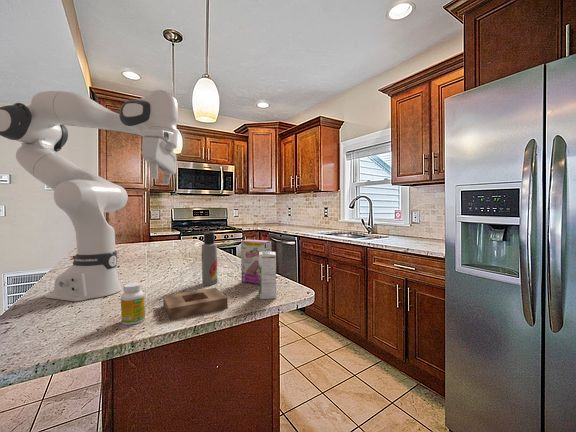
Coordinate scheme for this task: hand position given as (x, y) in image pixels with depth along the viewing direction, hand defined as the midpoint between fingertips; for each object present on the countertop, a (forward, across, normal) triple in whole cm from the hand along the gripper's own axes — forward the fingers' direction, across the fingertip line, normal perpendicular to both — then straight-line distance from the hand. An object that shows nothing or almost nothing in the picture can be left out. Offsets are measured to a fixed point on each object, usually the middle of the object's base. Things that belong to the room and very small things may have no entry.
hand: (160, 181), depth 92 cm
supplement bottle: (+40, +14, 0) cm, 43 cm away
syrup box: (+37, -2, +36) cm, 52 cm away
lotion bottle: (+36, -20, +13) cm, 43 cm away
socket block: (+39, +6, +14) cm, 42 cm away
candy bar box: (+35, -19, +31) cm, 51 cm away
